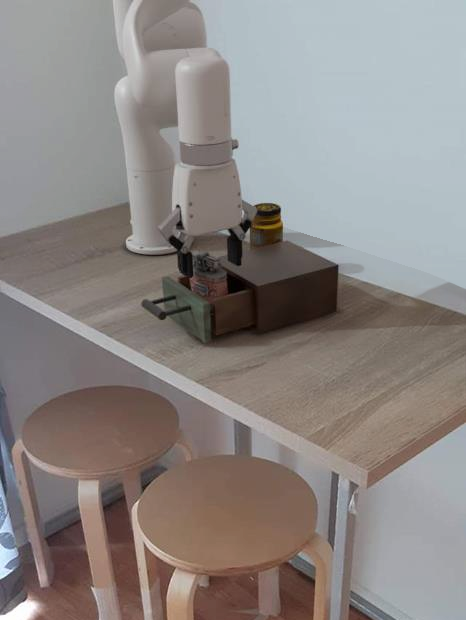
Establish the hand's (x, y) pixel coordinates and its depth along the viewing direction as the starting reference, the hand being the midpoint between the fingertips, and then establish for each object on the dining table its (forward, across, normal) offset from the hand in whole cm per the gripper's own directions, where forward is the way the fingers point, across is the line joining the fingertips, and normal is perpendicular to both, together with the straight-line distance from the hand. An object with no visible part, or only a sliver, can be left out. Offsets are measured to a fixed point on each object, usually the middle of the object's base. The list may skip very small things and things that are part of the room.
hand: (210, 268), depth 129 cm
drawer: (+9, +1, 0) cm, 9 cm away
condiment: (+10, -19, -15) cm, 26 cm away
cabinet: (+10, -12, 0) cm, 15 cm away
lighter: (+8, 0, 0) cm, 8 cm away
